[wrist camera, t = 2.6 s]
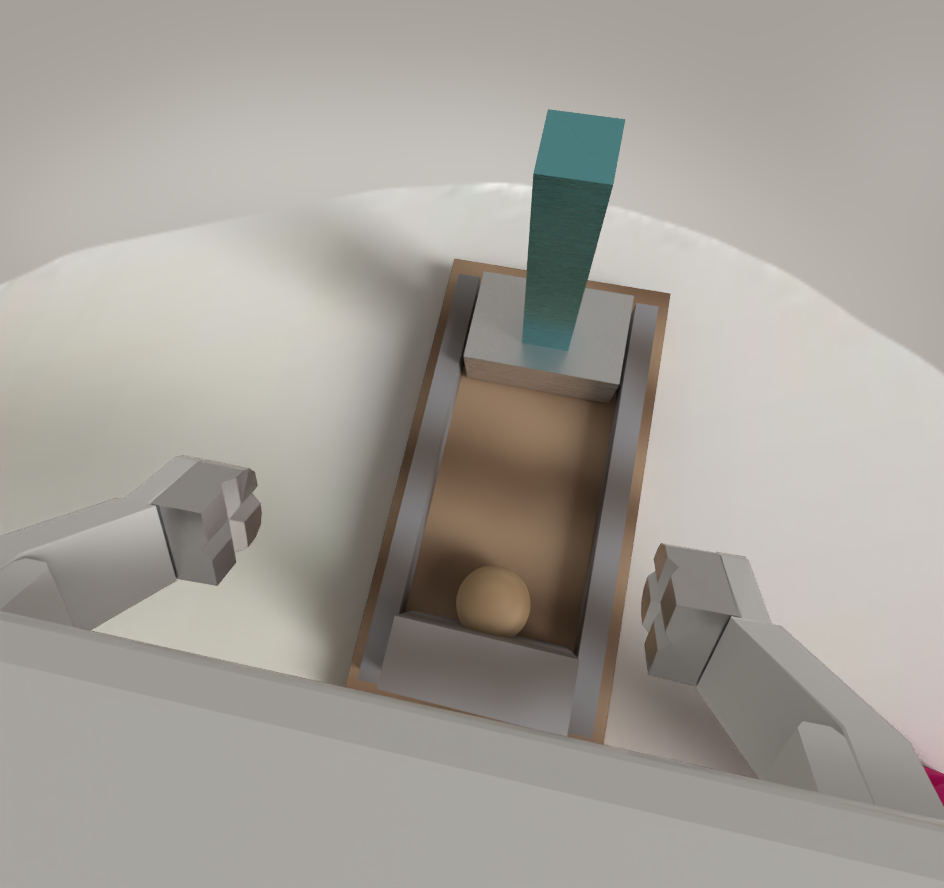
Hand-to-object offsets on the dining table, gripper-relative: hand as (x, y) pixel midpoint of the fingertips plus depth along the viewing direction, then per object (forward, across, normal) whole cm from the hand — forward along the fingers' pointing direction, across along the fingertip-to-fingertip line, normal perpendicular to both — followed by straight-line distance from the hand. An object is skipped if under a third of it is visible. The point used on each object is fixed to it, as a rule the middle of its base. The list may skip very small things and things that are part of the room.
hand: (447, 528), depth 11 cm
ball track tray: (+17, -1, +12) cm, 21 cm away
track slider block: (+21, -1, +4) cm, 22 cm away
